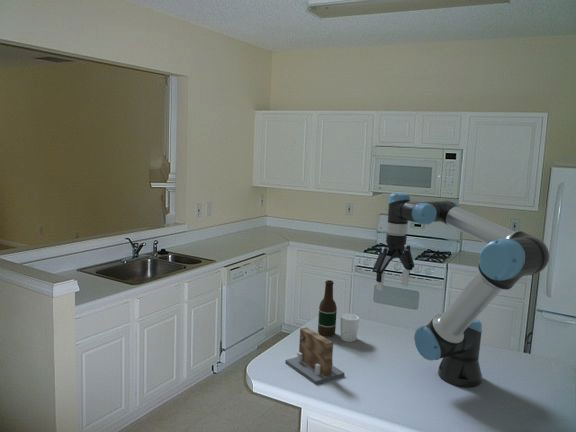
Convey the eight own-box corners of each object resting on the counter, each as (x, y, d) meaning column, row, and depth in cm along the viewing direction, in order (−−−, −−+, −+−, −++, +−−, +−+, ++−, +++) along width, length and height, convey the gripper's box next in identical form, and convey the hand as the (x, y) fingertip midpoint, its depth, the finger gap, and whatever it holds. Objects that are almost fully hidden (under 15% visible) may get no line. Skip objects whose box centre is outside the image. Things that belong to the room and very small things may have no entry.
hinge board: (344, 375, 177) (345, 363, 177) (315, 384, 170) (316, 371, 169) (312, 355, 193) (313, 344, 192) (285, 362, 186) (285, 351, 185)
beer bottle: (316, 335, 213) (319, 282, 210) (319, 329, 221) (322, 277, 217) (333, 338, 212) (337, 284, 208) (336, 331, 219) (339, 279, 216)
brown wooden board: (331, 374, 176) (333, 342, 174) (322, 376, 174) (324, 344, 172) (305, 357, 189) (306, 327, 187) (297, 359, 187) (298, 329, 185)
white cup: (343, 343, 207) (344, 320, 205) (336, 335, 214) (337, 314, 213) (360, 341, 209) (362, 319, 207) (353, 334, 216) (354, 313, 215)
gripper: (411, 230, 197) (407, 281, 200) (365, 234, 183) (361, 289, 186) (426, 233, 191) (421, 286, 194) (379, 237, 177) (375, 294, 180)
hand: (392, 287), depth 190 cm, fingers open, 13 cm apart
